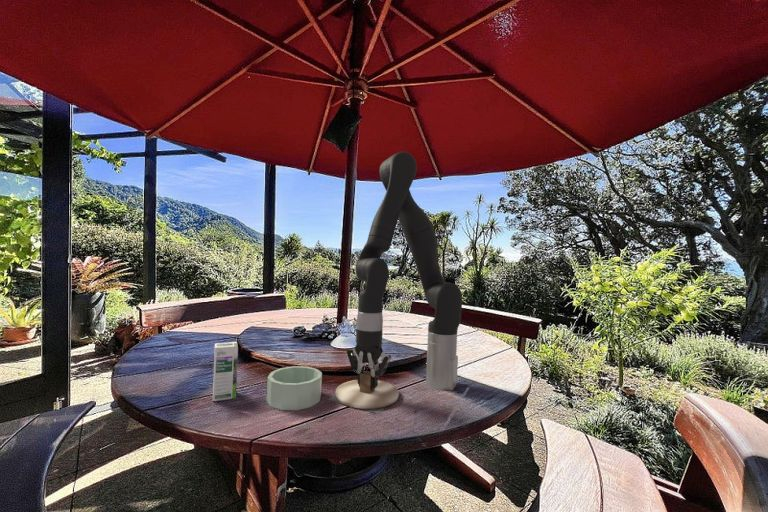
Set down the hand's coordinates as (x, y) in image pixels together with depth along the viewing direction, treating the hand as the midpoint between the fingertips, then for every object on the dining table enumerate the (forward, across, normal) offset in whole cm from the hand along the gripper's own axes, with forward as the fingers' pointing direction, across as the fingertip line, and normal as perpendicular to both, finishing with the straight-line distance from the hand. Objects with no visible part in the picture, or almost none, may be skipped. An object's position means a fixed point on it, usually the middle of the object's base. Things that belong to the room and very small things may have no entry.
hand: (367, 387), depth 95 cm
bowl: (+3, +16, +12) cm, 20 cm away
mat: (+3, 0, 0) cm, 3 cm away
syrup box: (+3, +34, +20) cm, 40 cm away
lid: (+2, 0, 0) cm, 2 cm away
